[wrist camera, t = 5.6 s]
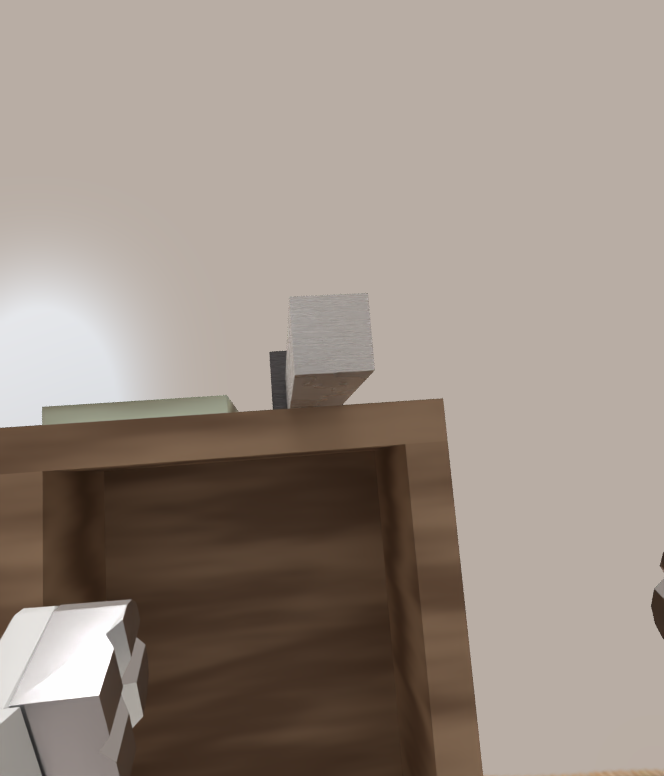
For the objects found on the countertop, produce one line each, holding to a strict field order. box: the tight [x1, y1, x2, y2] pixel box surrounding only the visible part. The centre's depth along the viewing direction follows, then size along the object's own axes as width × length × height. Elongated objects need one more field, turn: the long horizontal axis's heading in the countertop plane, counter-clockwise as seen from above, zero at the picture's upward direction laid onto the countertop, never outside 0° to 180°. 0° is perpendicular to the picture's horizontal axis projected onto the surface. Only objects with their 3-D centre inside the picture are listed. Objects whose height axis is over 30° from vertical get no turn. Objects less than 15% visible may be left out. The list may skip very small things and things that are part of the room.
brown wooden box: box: [0, 395, 483, 776], centre depth 28 cm, size 10×20×27 cm, turn 95°
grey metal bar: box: [270, 293, 375, 410], centre depth 27 cm, size 21×4×4 cm, turn 5°
